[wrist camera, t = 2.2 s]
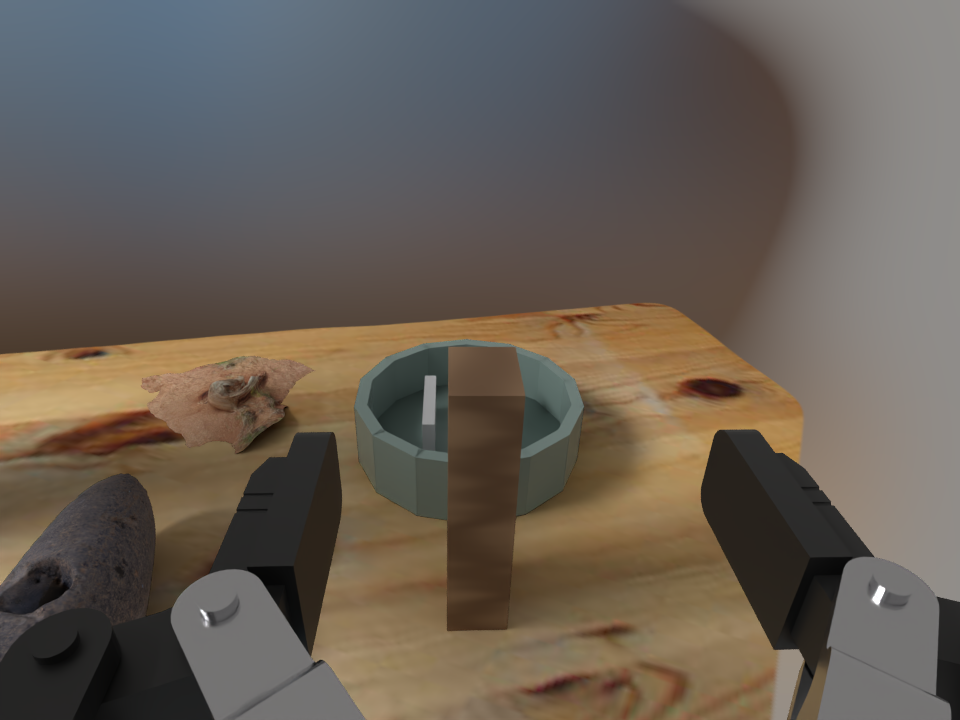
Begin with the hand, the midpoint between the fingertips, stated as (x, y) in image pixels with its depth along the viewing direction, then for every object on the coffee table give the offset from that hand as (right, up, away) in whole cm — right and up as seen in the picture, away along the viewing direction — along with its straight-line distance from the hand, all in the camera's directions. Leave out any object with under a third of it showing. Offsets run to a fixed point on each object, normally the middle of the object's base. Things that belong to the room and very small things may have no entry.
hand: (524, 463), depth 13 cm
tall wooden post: (-1, -10, +20) cm, 22 cm away
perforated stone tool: (-19, -12, +17) cm, 28 cm away
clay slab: (-21, -2, +35) cm, 41 cm away
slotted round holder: (-2, -4, +31) cm, 31 cm away
